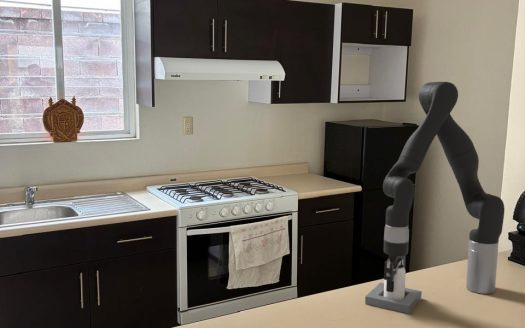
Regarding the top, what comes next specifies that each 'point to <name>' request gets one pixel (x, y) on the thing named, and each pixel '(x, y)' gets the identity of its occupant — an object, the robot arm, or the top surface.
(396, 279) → the can
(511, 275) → the top surface
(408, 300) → the socket plate
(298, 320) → the top surface
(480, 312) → the top surface
